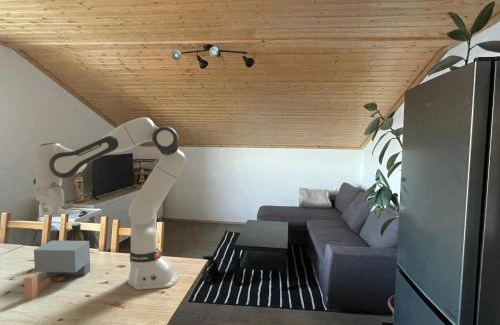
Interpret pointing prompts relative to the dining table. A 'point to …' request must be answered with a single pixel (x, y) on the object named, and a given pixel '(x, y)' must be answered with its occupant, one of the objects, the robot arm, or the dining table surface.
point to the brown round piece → (59, 278)
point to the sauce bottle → (76, 233)
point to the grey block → (63, 258)
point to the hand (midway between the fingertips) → (49, 214)
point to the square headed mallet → (34, 286)
